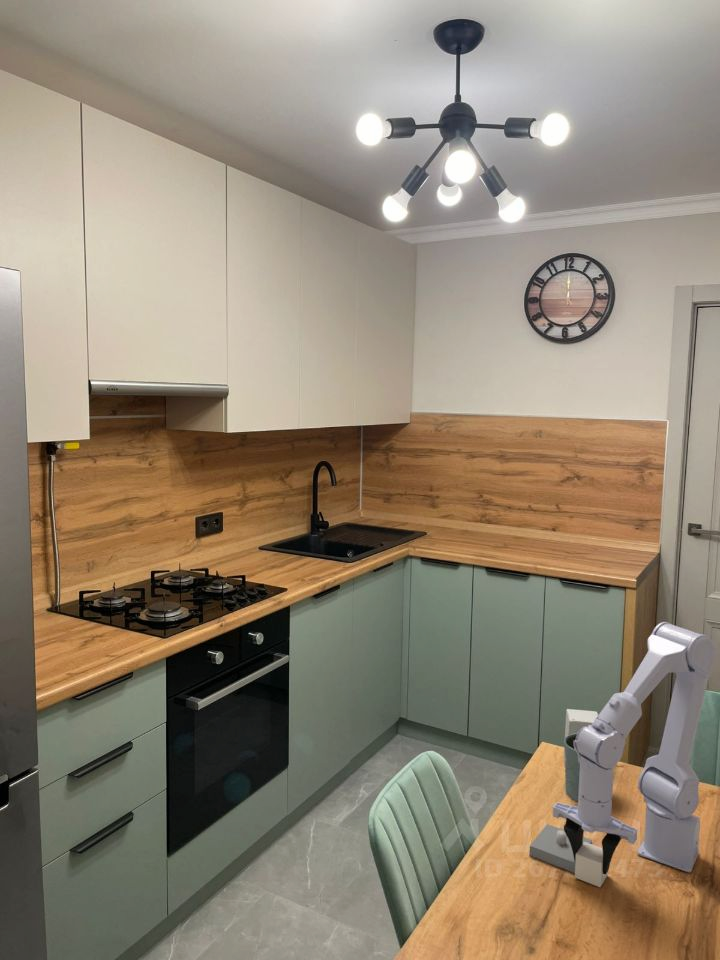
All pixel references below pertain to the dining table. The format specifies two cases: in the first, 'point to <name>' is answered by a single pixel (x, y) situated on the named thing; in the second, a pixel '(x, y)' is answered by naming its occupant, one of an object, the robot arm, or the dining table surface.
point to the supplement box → (578, 721)
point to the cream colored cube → (590, 864)
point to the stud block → (554, 848)
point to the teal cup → (571, 767)
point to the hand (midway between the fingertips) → (591, 865)
